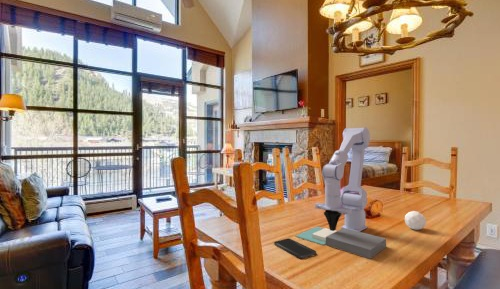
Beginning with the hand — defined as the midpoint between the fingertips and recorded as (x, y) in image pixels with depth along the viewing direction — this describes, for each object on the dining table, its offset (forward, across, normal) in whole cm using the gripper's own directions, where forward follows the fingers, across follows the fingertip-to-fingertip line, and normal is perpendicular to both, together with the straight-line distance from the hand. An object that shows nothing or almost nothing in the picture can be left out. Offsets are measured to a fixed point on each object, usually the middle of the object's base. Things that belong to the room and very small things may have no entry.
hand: (332, 229), depth 101 cm
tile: (+3, -3, 0) cm, 4 cm away
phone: (+4, -5, -18) cm, 19 cm away
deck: (+4, +9, 0) cm, 10 cm away
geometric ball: (+4, +19, +36) cm, 41 cm away
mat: (+4, -6, 0) cm, 7 cm away
